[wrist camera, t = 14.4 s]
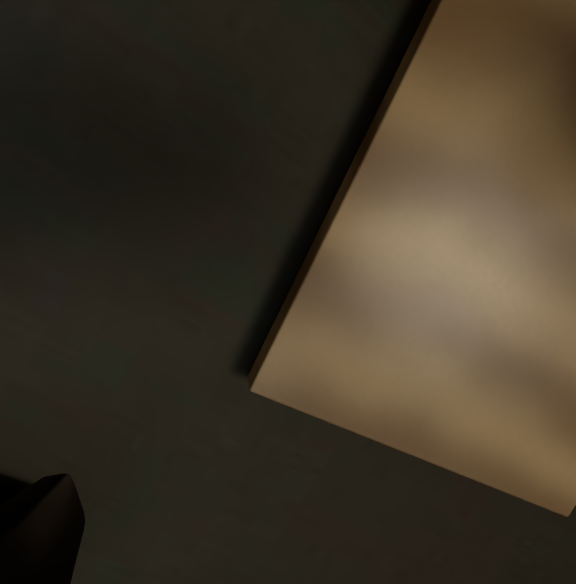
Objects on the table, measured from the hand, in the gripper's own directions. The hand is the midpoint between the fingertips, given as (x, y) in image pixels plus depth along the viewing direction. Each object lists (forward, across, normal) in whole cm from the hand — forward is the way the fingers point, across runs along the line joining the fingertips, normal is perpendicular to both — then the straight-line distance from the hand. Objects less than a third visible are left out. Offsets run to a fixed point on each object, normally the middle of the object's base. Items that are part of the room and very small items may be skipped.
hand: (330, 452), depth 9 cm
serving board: (+14, -9, 0) cm, 17 cm away
